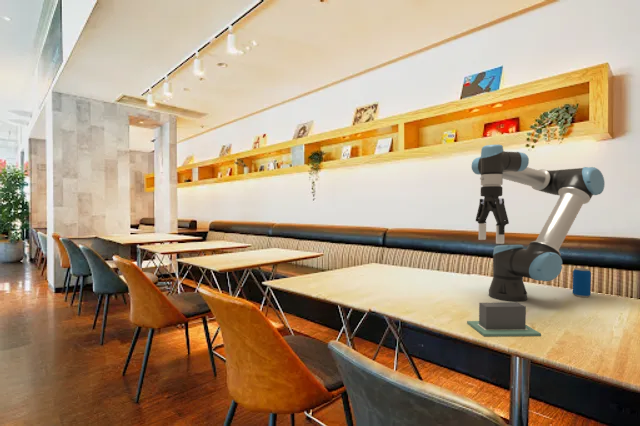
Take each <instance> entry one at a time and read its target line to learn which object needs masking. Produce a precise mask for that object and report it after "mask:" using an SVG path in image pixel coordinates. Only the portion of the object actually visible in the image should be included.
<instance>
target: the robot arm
mask: <svg viewBox="0 0 640 426" xmlns="http://www.w3.org/2000/svg"><path fill="white" fill-rule="evenodd" d="M529 163H530V160H529V156H528V154H526V153H524V152H520V151H504V146H503V144H486V145H484V146H482V147H481V151H480V156H479V157H476V158H474V159H473V161H471V171H472V172H473V173H474V174H475V175H480V177H479V180H480V185H481V186H480V197H483V198H480V199H479V204H478V209H477V213H476V215H475V216H476V217H475V222H477V223H478V241H479V240H480V241H484V240H487V218H488V217H489V214H490V212H491V213H492V215H493V217H494V219H495V221H496V224H495V244H496V245H495V246H494V247H493V253H492V271H493V273H492V274H493V275H492V280H491V283H490V286H489V288H488V296H489V297H490V298H493V299H497V300H503V301H508V302H523V301H526V300H528V292H527V289H526V287H525V282H524V278H527V279H531V280H535V281H540V282H541V281H542V282H550V281H553V280H556V278H558V276H559V275H560V274H561V272H562V269H563V266H562V265H563V259H562V257H561V252H560V248H561V247H562V244H563V243H564V241H565V239H566V237H567V235H568V233H569V231H570V229H571V228H572V225H573V224H574V222H575V220H576V218H577V217H578V214H579V213H580V211H581V209H582V208H583V205H585V204H588V203H589V202H591V201H590V200H591V199H592V197H593V196H598V195H601V194H602V193H603V192H604V189H605V178H604V175H603V173H602V171H601V170H600V169H599V168H597V167H593V166H591V167H590V166H589V167H588V166H583V167H579V168H567V169H557V170H556V169H555V170H554V169H553V170H546V169H543V168H542V169H535V168H531V167H529ZM504 180H506V181H510V182H514V183H518V184H521V185H525V186H529V187H531V188H532V189H533V190H536V191H538V192H542V193H546V194H551V195H553V196H559V198H558V199H557V202H556V203H555V205H554V206H553V209H552V211H551V212H550V214H549V216H548V218H547V219H546V221H545V223H544V225H543V227H542V228H541V231H540V232H539V234H538V236H537V238H536V239H535V240H533V241H530V242H529V244H528V246H527V247H526V248H524V244H505V233H506V232H505V231H506V230H505V226H506V225H509V224H510V221H509V218H508V213H507V211H506V206H505V199H504V198H503V197H502V196H503V186H502V185H503V182H504ZM500 197H502V198H500ZM497 244H498V245H497ZM499 244H500V245H499ZM501 244H502V245H501ZM504 244H505V245H504Z"/></svg>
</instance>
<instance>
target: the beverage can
mask: <svg viewBox="0 0 640 426" xmlns="http://www.w3.org/2000/svg"><path fill="white" fill-rule="evenodd" d="M591 282H592V273H591V270H590V269H589V268H583V267H581V268H580V267H575V268H573V270H572V294H573V295H574V296H575V297H578V296H579V297H578V298H589V297H590V296H591V291H592V287H591V286H592V285H591V284H592V283H591Z"/></svg>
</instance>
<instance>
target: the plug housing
mask: <svg viewBox="0 0 640 426" xmlns="http://www.w3.org/2000/svg"><path fill="white" fill-rule="evenodd" d="M478 305H479V306H478V307H479V308H478V321H479V325H480V326H482V327H483V328H484V329H486V330H510V329H526V318H527V316H526V315H527V307H526V305H524V304H521V303H520V302H519V301H508V302H497V301H496V302H479V304H478Z"/></svg>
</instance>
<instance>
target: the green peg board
mask: <svg viewBox="0 0 640 426" xmlns="http://www.w3.org/2000/svg"><path fill="white" fill-rule="evenodd" d="M466 324H467V325H469V326H470V327H471V328H473V330H475V331H476V332H477V333H479V334H480V335H481V336H482V337H542V333H541V332H540V331H538V330H536V329H534V328H533V327H530V326H529V325H526V329H510V330H486V329H484V328H483V327H482V326H480V325H479V320H467V321H466Z"/></svg>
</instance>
